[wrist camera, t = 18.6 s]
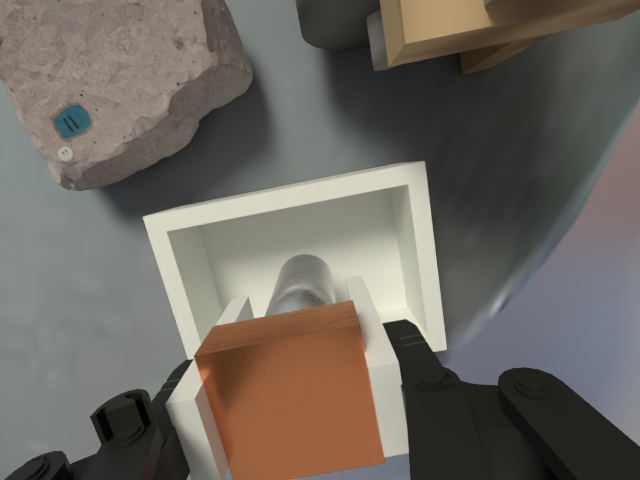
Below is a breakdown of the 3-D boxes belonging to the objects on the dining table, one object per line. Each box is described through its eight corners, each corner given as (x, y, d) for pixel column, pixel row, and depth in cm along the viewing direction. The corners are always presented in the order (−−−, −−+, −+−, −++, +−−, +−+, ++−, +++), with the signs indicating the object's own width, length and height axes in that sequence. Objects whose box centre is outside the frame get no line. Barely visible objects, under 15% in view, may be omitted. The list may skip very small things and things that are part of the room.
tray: (222, 348, 24) (199, 394, 19) (181, 205, 22) (142, 216, 17) (419, 312, 24) (447, 349, 19) (399, 162, 21) (424, 160, 16)
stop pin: (277, 320, 20) (235, 488, 9) (261, 251, 19) (193, 356, 8) (347, 306, 19) (385, 462, 9) (334, 237, 19) (360, 324, 8)
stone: (101, 197, 22) (24, 207, 16) (13, 57, 20) (-111, 10, 14) (276, 110, 21) (264, 86, 15) (203, -45, 19) (157, -142, 13)
